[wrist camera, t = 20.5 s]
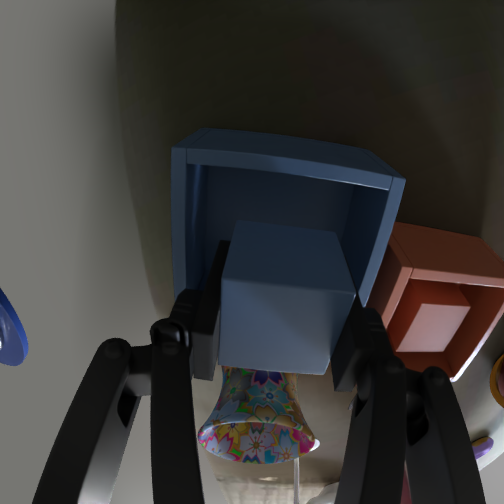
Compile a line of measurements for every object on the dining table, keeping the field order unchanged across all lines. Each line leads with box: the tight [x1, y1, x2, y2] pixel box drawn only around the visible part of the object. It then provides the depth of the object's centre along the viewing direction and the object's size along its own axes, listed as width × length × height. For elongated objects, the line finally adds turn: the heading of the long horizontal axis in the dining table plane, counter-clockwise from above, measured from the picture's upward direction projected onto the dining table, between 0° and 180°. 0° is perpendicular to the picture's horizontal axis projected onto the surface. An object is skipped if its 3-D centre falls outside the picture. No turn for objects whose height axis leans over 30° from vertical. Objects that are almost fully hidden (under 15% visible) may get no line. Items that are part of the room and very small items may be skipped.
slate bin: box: [171, 128, 406, 307], centre depth 20 cm, size 12×12×7 cm
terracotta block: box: [387, 278, 471, 352], centre depth 22 cm, size 5×5×5 cm
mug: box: [198, 365, 315, 464], centre depth 26 cm, size 12×9×11 cm
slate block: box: [218, 220, 356, 375], centre depth 14 cm, size 5×5×5 cm
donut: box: [471, 437, 494, 459], centre depth 46 cm, size 10×9×5 cm
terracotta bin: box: [355, 221, 504, 387], centre depth 22 cm, size 12×12×7 cm
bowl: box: [307, 482, 339, 504], centre depth 52 cm, size 20×20×7 cm
